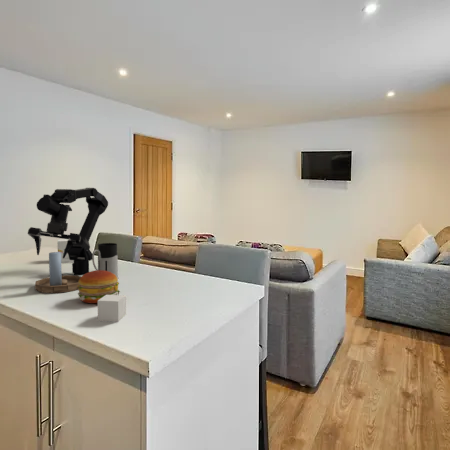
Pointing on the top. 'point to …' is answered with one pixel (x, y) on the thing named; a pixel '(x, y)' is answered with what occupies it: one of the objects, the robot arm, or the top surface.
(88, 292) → the burger
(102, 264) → the grey jug
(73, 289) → the tray
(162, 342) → the top surface
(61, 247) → the ink box
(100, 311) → the white cube
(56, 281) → the peg
